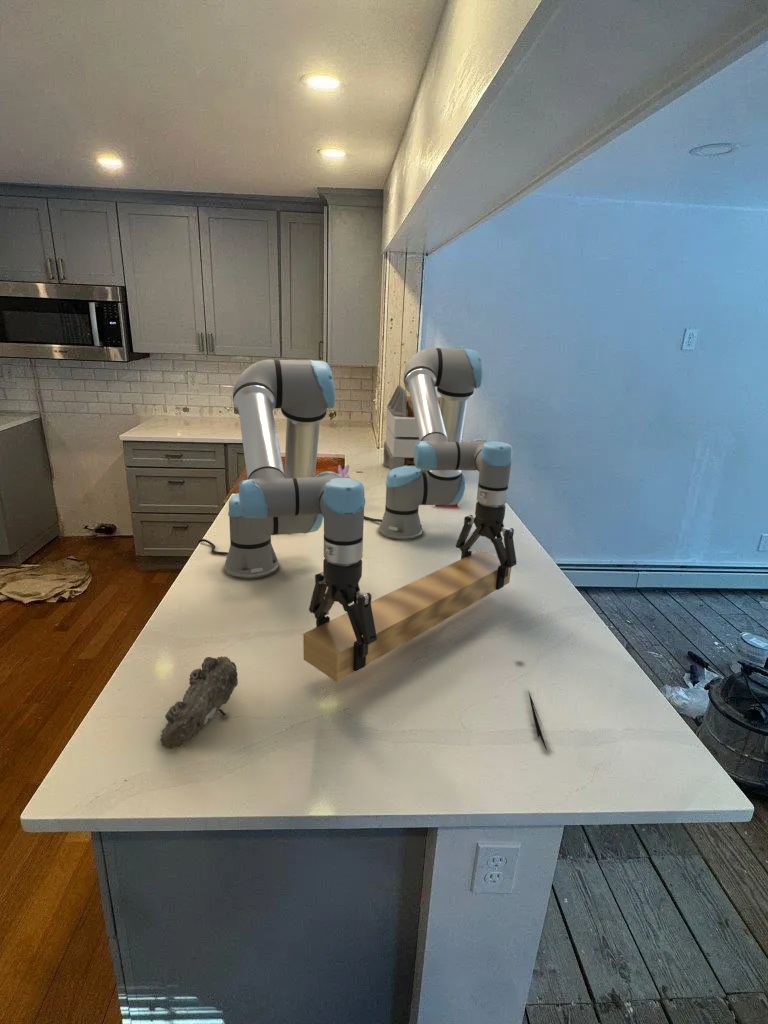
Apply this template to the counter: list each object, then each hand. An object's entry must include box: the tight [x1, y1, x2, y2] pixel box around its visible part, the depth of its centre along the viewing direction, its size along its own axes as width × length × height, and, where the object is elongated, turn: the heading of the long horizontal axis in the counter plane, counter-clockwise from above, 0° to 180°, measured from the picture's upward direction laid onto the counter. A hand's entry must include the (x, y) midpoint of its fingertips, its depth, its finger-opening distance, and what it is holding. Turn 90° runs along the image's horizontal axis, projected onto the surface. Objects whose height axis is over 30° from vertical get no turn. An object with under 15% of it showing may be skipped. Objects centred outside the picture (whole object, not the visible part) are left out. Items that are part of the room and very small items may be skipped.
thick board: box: [302, 549, 512, 683], centre depth 134 cm, size 63×10×6 cm, turn 137°
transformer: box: [383, 384, 466, 471], centre depth 268 cm, size 34×33×41 cm
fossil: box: [160, 656, 239, 749], centre depth 107 cm, size 22×10×15 cm
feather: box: [528, 689, 548, 751], centre depth 116 cm, size 2×28×2 cm
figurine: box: [337, 464, 350, 478], centre depth 228 cm, size 9×10×15 cm
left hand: (340, 656), depth 117 cm, fingers closed on thick board, 10 cm apart
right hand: (482, 580), depth 153 cm, fingers closed on thick board, 10 cm apart
